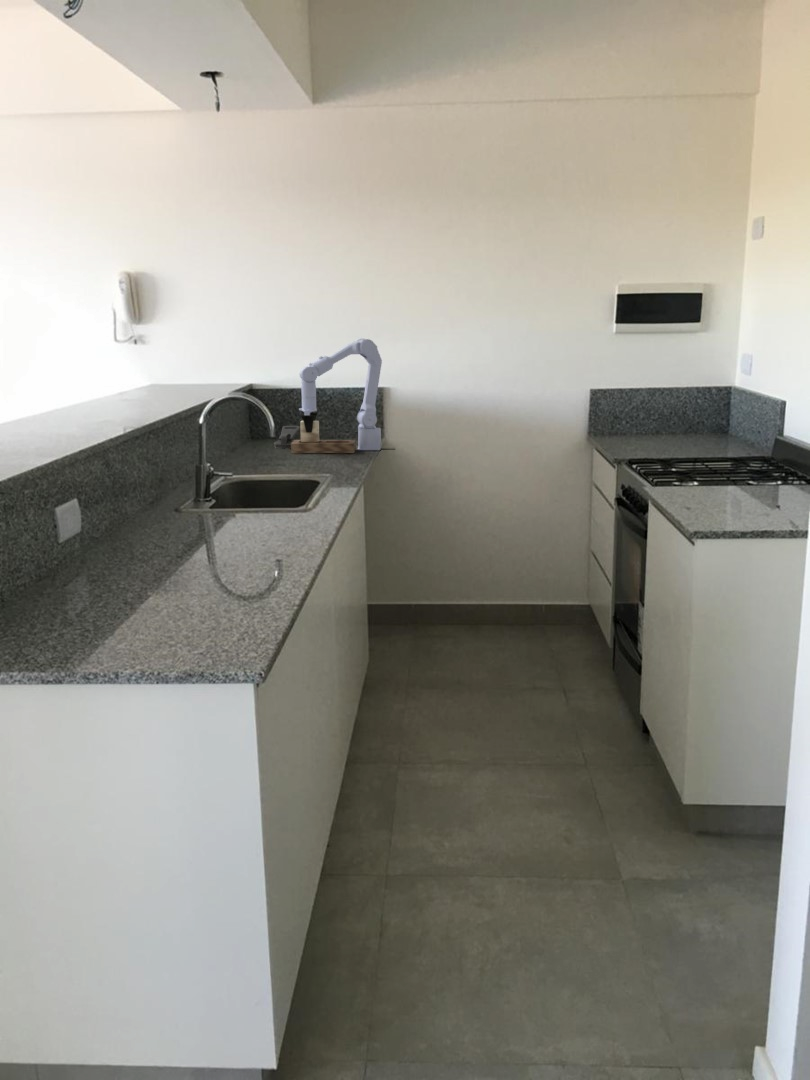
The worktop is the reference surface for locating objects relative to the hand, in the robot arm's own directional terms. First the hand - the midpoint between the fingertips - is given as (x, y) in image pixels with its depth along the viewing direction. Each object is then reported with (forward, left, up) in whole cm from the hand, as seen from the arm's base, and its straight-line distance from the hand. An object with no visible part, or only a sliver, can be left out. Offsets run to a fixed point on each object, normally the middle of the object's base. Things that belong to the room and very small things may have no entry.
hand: (309, 431), depth 364 cm
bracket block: (0, 0, -4) cm, 4 cm away
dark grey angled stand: (+12, -20, -8) cm, 25 cm away
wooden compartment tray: (-6, 0, -8) cm, 10 cm away
